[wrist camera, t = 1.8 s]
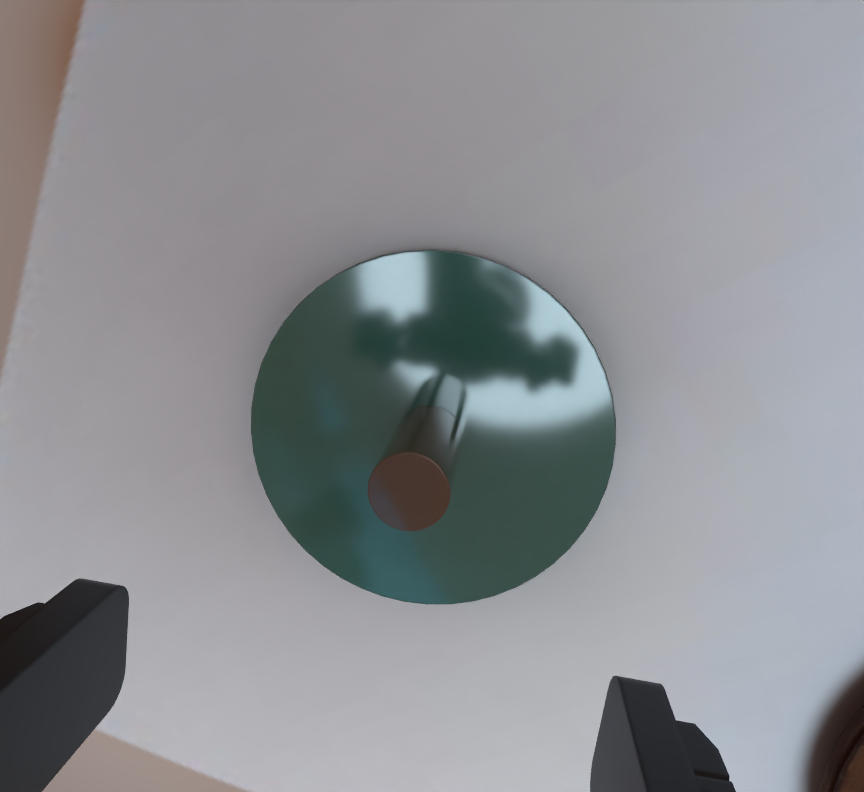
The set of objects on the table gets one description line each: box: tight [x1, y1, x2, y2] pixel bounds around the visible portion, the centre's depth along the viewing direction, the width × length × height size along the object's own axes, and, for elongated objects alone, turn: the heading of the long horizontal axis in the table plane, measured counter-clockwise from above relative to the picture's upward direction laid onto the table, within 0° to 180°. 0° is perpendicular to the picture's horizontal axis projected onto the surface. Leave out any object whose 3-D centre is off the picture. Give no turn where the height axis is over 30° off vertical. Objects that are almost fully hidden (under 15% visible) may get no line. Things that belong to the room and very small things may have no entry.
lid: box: [251, 250, 616, 604], centre depth 24 cm, size 13×13×7 cm
